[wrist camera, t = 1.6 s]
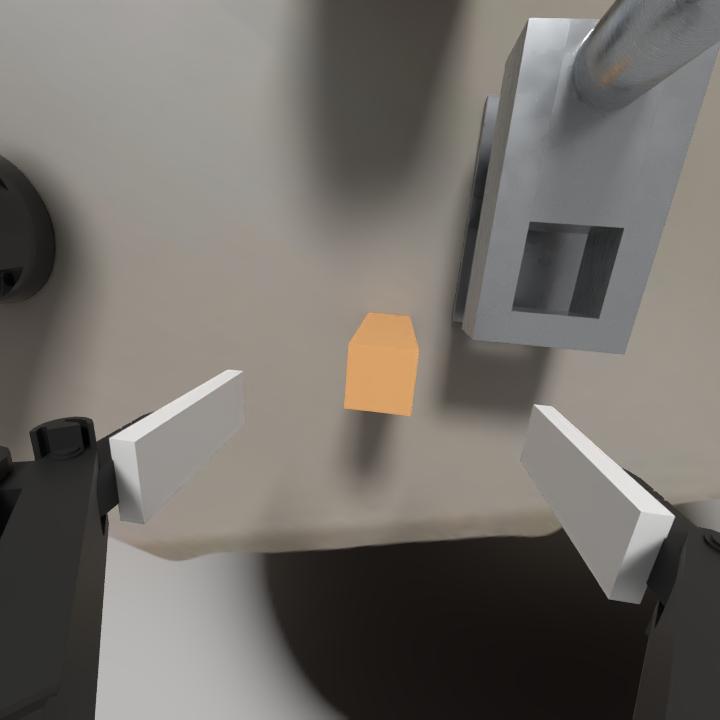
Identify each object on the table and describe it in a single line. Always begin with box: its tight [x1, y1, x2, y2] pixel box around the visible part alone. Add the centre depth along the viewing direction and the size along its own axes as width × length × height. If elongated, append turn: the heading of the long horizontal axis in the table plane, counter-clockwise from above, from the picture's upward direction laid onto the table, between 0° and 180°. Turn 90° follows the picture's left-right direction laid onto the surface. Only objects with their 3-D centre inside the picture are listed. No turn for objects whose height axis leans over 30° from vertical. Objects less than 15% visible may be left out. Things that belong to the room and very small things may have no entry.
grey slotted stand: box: [452, 0, 720, 354], centre depth 21 cm, size 10×18×16 cm, turn 175°
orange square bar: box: [344, 313, 419, 416], centre depth 26 cm, size 4×4×14 cm
